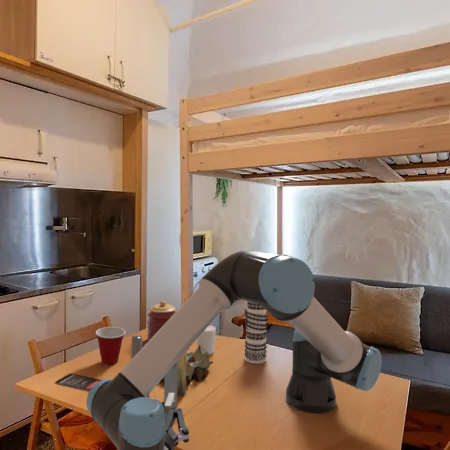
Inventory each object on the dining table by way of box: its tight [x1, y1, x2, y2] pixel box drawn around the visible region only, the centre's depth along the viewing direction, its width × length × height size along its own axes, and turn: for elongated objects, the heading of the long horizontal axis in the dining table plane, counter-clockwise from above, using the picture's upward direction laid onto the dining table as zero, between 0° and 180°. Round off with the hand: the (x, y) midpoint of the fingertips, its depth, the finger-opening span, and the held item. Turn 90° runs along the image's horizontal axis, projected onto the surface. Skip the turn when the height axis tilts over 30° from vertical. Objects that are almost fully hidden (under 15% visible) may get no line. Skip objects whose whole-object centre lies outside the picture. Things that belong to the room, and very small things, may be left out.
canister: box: [147, 300, 177, 342], centre depth 165 cm, size 13×13×18 cm
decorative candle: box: [244, 301, 269, 364], centre depth 146 cm, size 9×9×25 cm
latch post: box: [177, 350, 188, 397], centre depth 117 cm, size 3×3×18 cm
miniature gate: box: [161, 345, 214, 383], centre depth 135 cm, size 27×6×30 cm
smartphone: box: [54, 373, 103, 392], centre depth 123 cm, size 7×1×15 cm
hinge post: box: [131, 335, 143, 359], centre depth 111 cm, size 3×3×20 cm
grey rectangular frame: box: [147, 362, 178, 421], centre depth 105 cm, size 12×2×18 cm, turn 54°
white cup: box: [196, 324, 217, 356], centre depth 152 cm, size 8×8×10 cm
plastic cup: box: [95, 326, 126, 366], centre depth 140 cm, size 11×11×12 cm
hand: (171, 397), depth 97 cm, fingers closed
